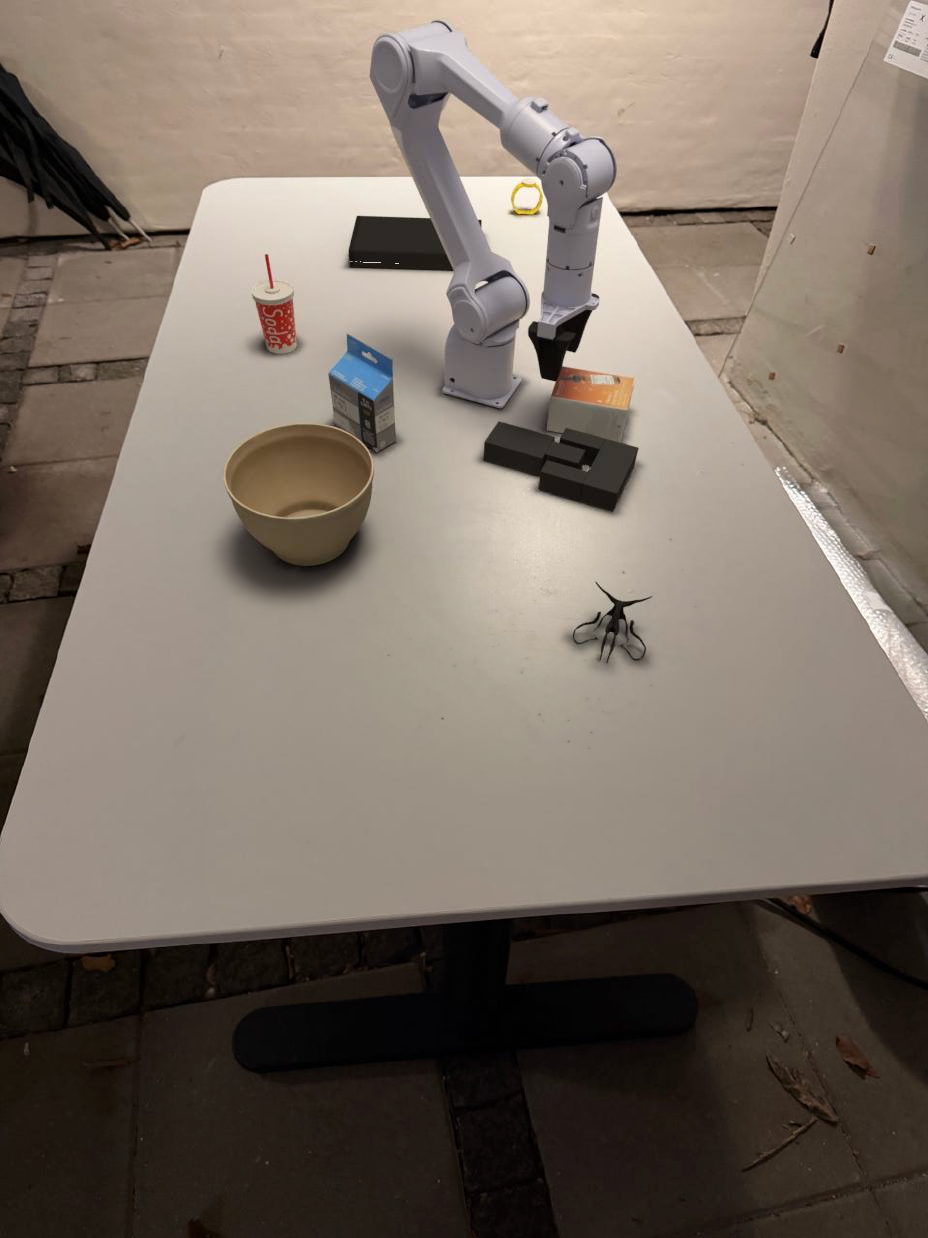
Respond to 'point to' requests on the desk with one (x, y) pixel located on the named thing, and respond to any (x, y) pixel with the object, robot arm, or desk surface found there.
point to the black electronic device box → (397, 243)
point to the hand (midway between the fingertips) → (559, 363)
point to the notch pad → (591, 471)
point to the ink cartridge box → (364, 395)
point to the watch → (529, 184)
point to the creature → (614, 623)
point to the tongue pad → (528, 449)
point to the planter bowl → (301, 489)
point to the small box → (590, 403)
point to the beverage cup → (276, 313)
